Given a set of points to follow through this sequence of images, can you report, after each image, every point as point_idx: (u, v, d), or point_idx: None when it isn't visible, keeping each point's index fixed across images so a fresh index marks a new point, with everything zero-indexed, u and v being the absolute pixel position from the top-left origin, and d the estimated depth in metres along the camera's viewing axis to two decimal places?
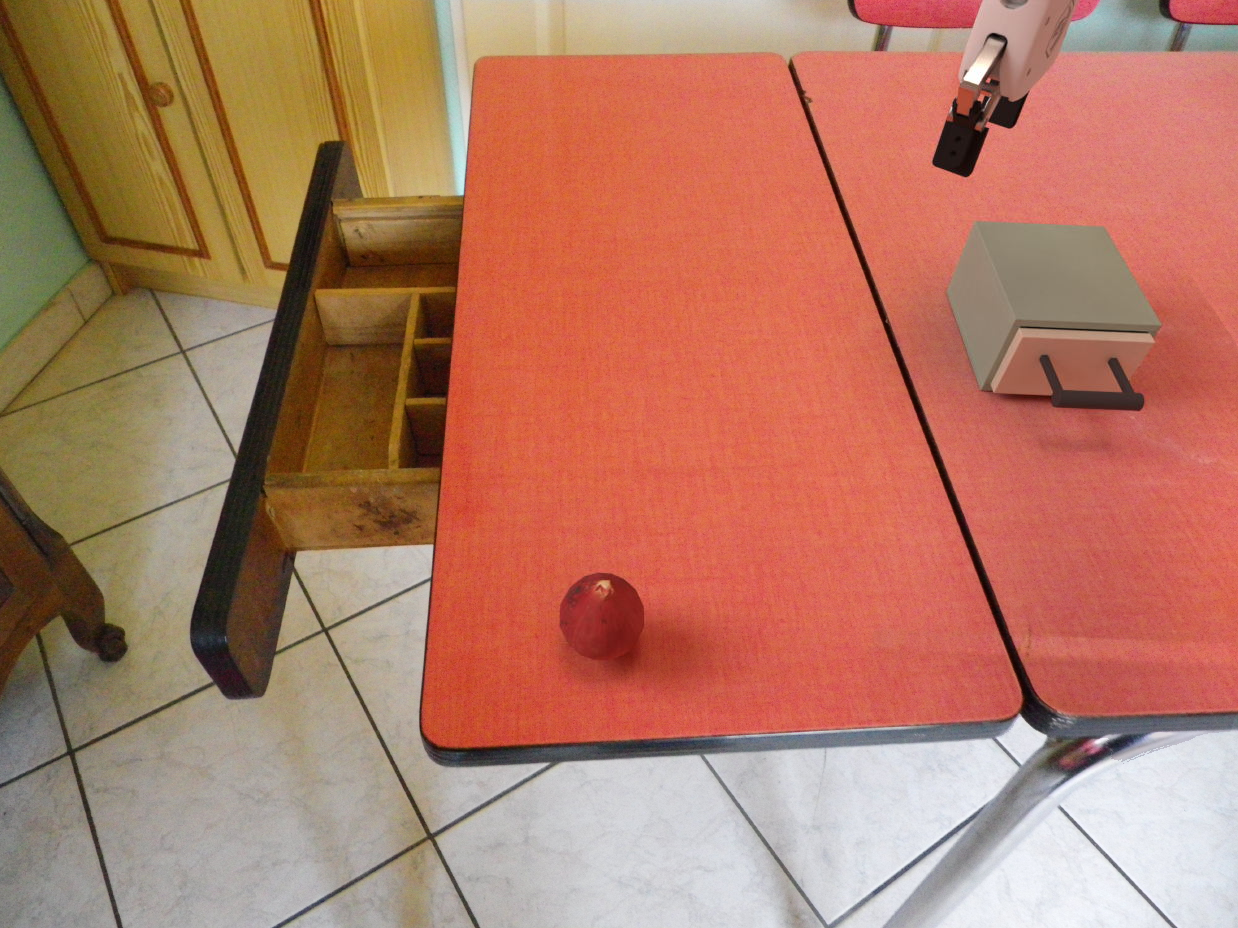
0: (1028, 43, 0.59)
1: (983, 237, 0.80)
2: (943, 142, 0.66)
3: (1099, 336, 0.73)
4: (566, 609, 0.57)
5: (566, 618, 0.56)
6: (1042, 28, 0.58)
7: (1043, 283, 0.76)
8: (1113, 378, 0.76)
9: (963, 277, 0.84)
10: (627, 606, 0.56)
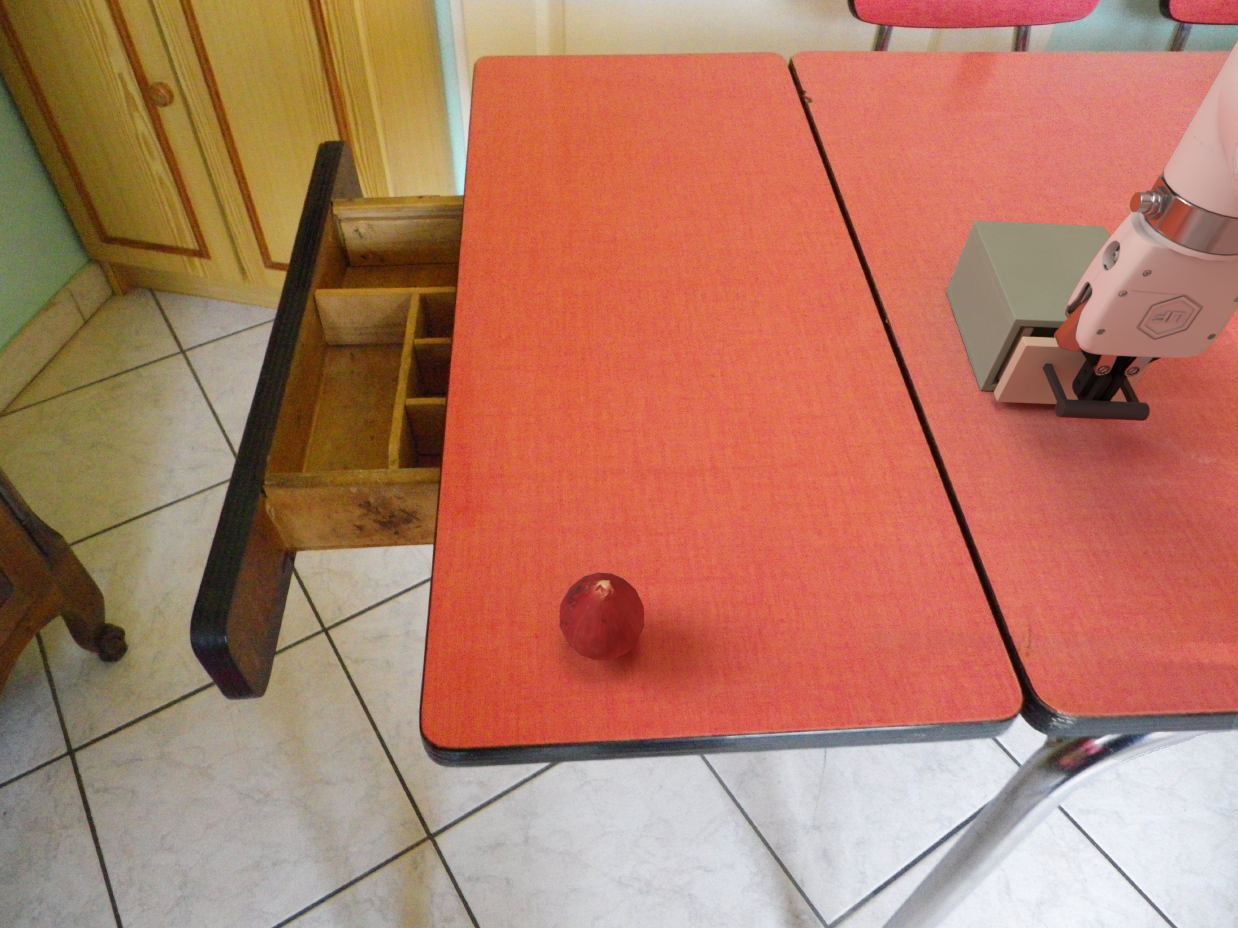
0: (1101, 304, 0.62)
1: (983, 237, 0.80)
2: None
3: None
4: (566, 609, 0.57)
5: (566, 618, 0.56)
6: (1115, 297, 0.61)
7: (1043, 283, 0.76)
8: None
9: (963, 277, 0.84)
10: (627, 606, 0.56)
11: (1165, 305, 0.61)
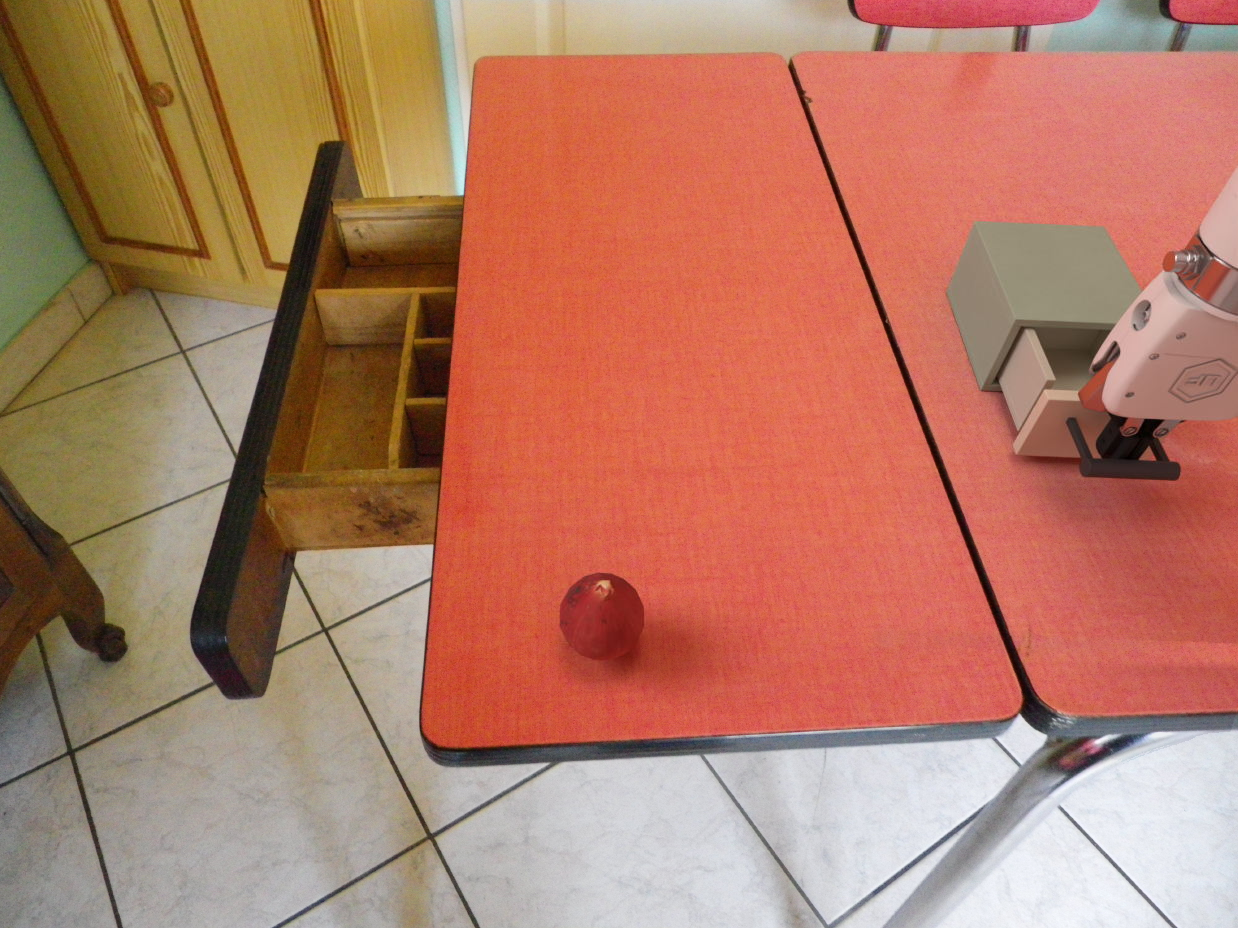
0: (1130, 366, 0.58)
1: (983, 237, 0.80)
2: None
3: None
4: (566, 609, 0.57)
5: (566, 618, 0.56)
6: (1146, 360, 0.57)
7: (1043, 283, 0.76)
8: None
9: (963, 277, 0.84)
10: (627, 606, 0.56)
11: (1199, 368, 0.57)
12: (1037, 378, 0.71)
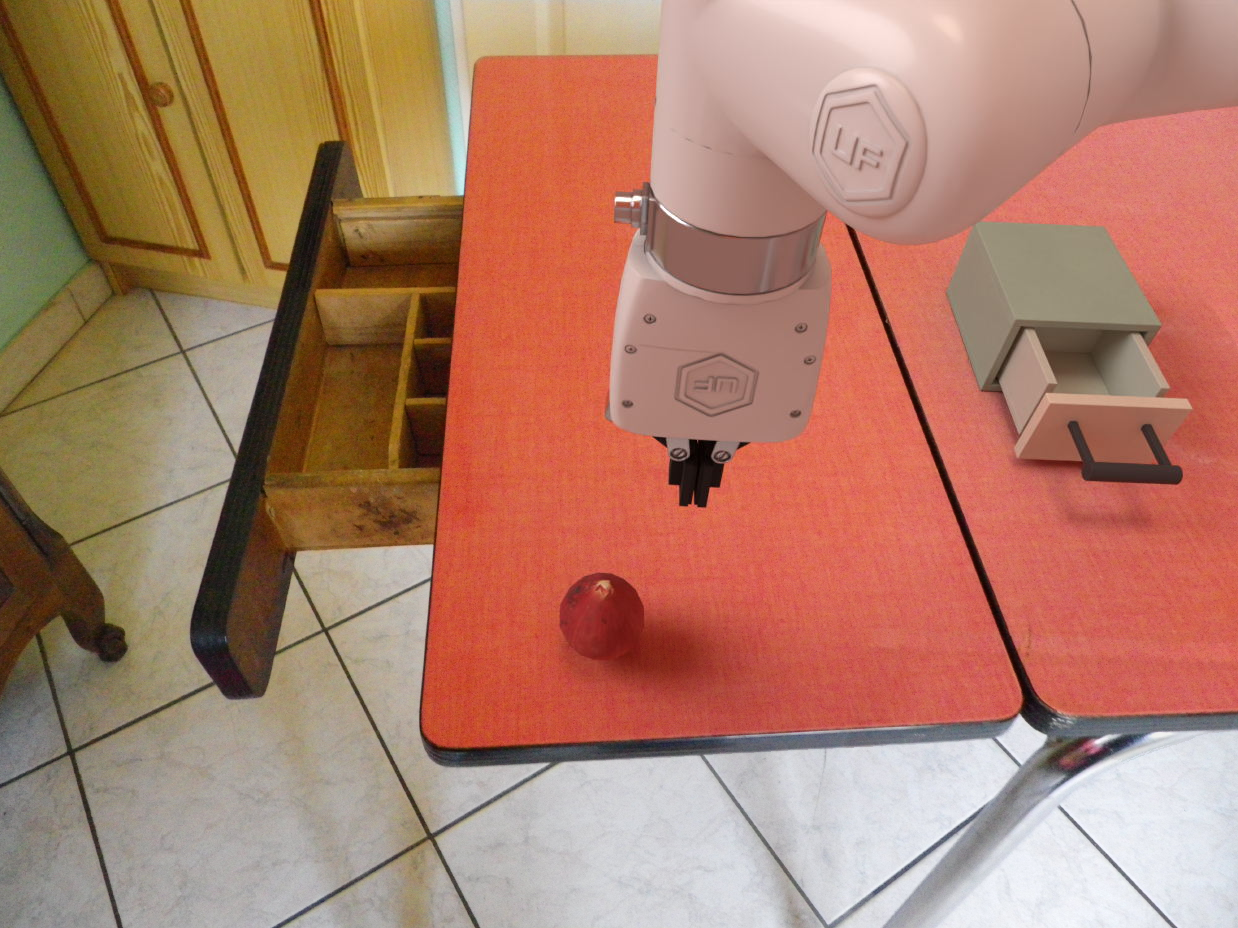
0: (614, 363, 0.41)
1: (983, 237, 0.80)
2: None
3: (1132, 402, 0.68)
4: (566, 609, 0.57)
5: (566, 618, 0.56)
6: (622, 355, 0.40)
7: (1043, 283, 0.76)
8: (1146, 444, 0.71)
9: (963, 277, 0.84)
10: (627, 606, 0.56)
11: (701, 368, 0.40)
12: (1039, 381, 0.71)
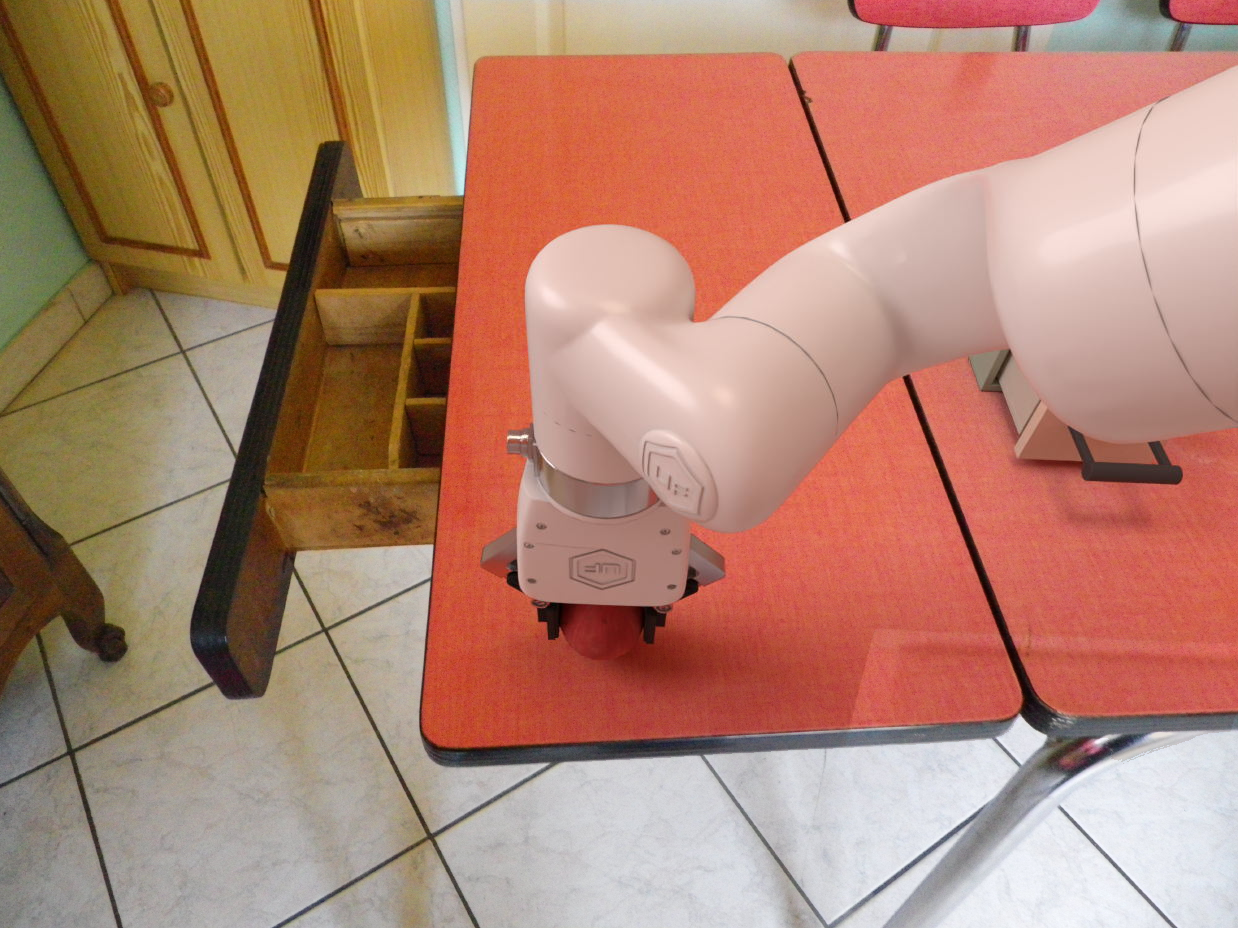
0: (518, 551, 0.49)
1: None
2: None
3: None
4: (566, 609, 0.57)
5: (566, 618, 0.56)
6: (523, 548, 0.48)
7: None
8: (1146, 444, 0.71)
9: None
10: (627, 606, 0.56)
11: (588, 557, 0.48)
12: None
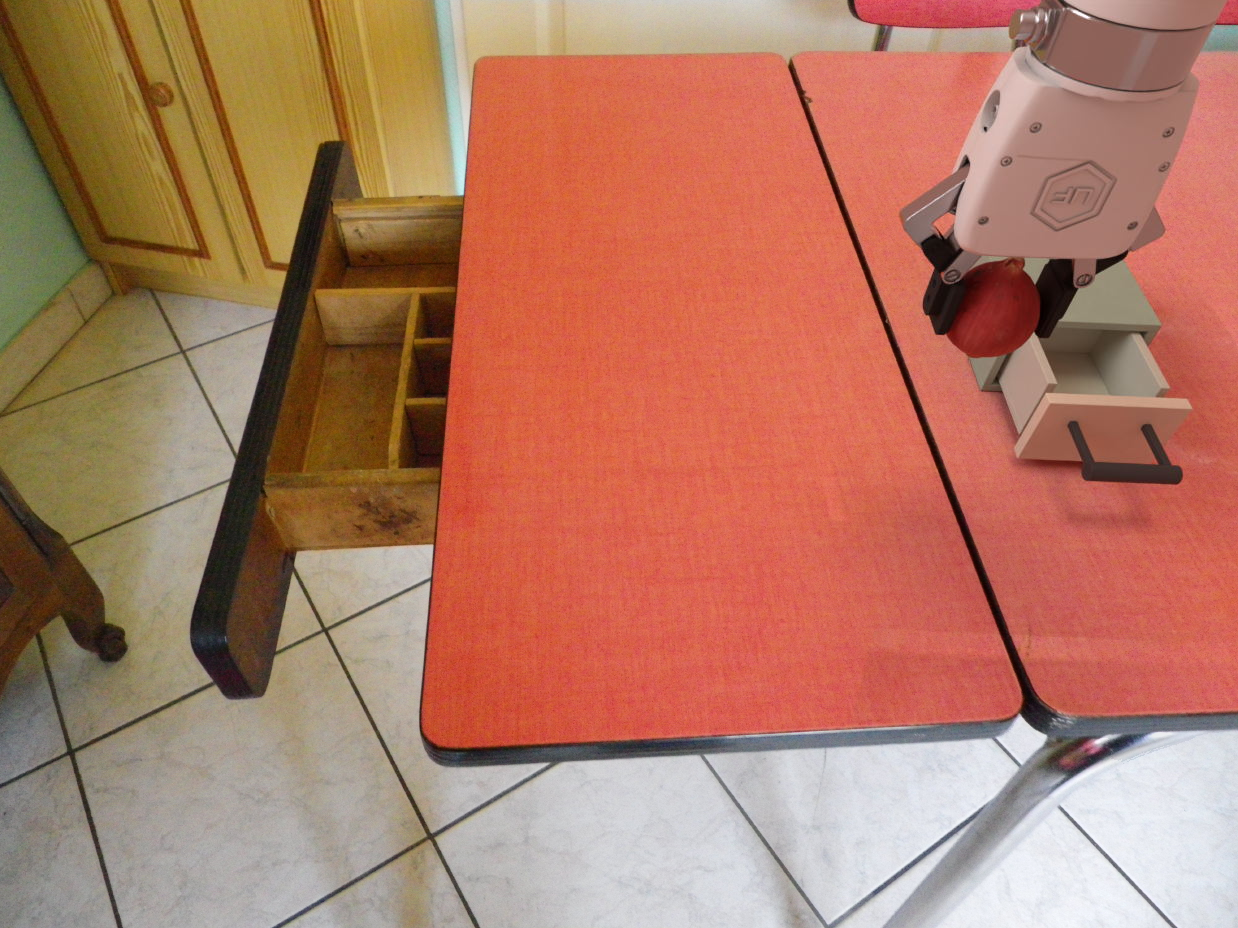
0: (980, 180, 0.45)
1: None
2: None
3: (1132, 402, 0.68)
4: (964, 295, 0.53)
5: (964, 304, 0.53)
6: (996, 168, 0.44)
7: None
8: (1146, 444, 0.71)
9: None
10: (1034, 287, 0.53)
11: (1065, 178, 0.45)
12: (1039, 381, 0.71)
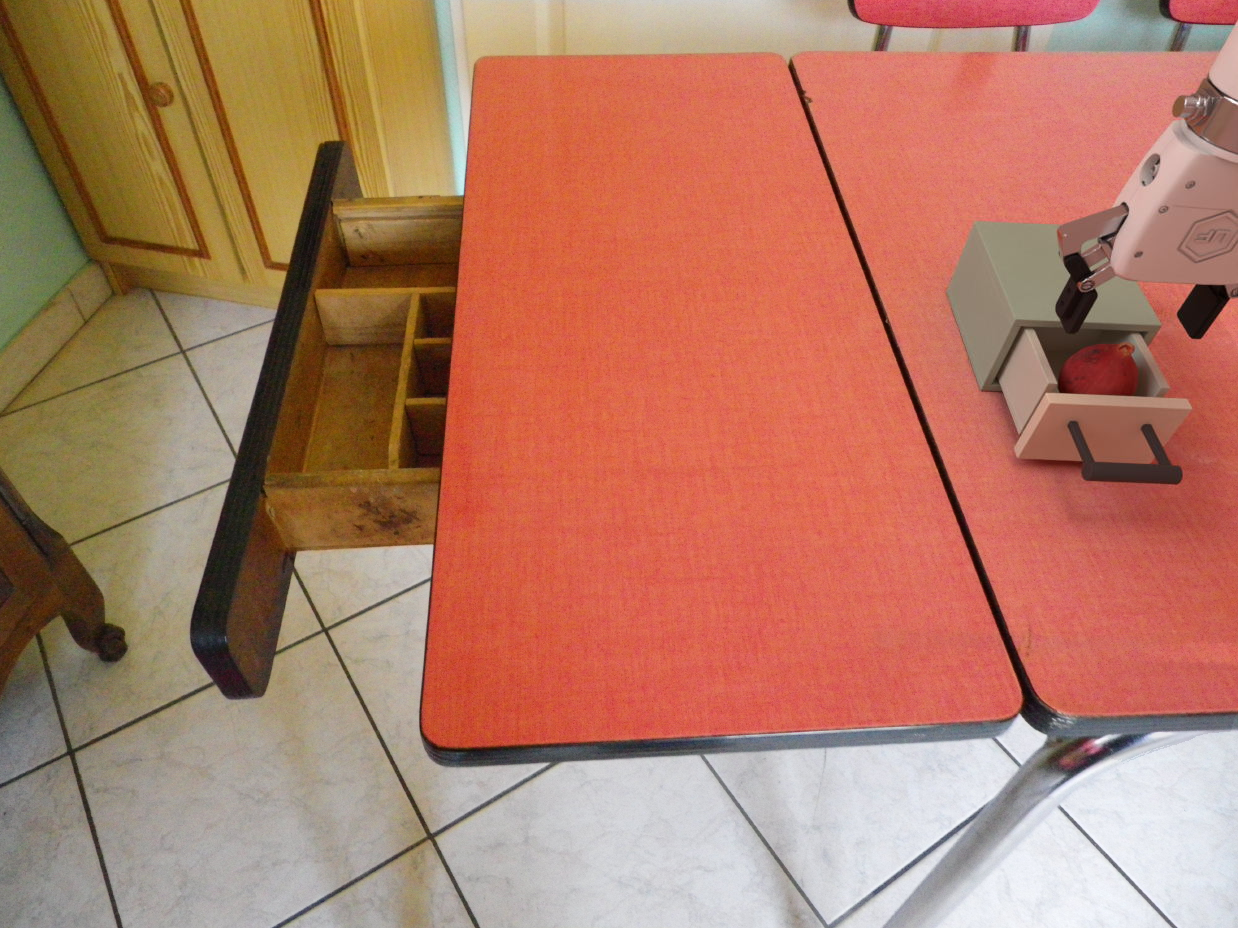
0: (1139, 223, 0.58)
1: (983, 237, 0.80)
2: None
3: (1132, 402, 0.68)
4: (1084, 367, 0.70)
5: (1084, 374, 0.70)
6: (1155, 214, 0.57)
7: (1043, 283, 0.76)
8: (1146, 444, 0.71)
9: (963, 277, 0.84)
10: (1136, 367, 0.70)
11: (1209, 222, 0.57)
12: (1039, 381, 0.71)
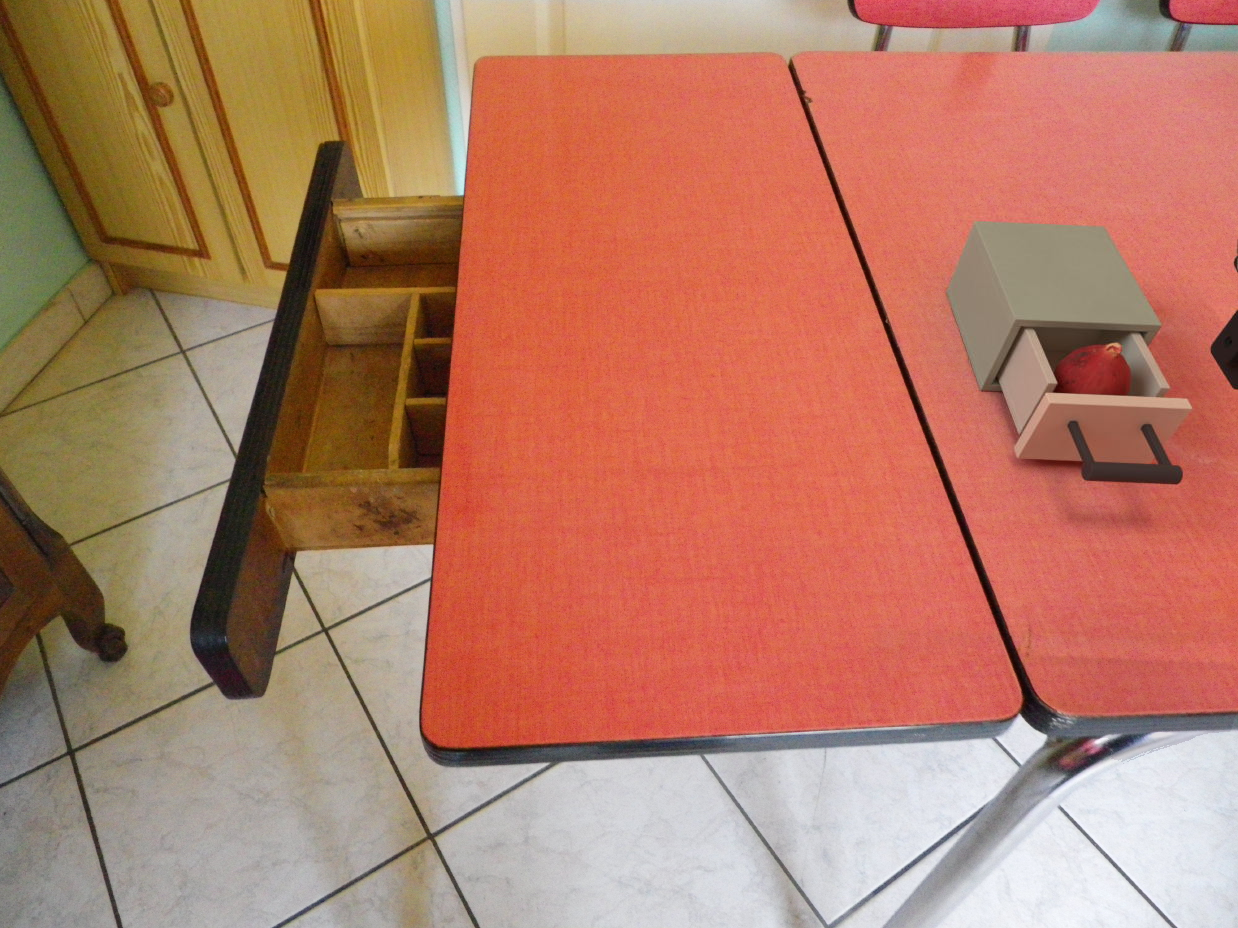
0: None
1: (983, 237, 0.80)
2: None
3: (1132, 402, 0.68)
4: (1073, 370, 0.70)
5: (1073, 377, 0.70)
6: None
7: (1043, 283, 0.76)
8: (1146, 444, 0.71)
9: (963, 277, 0.84)
10: (1127, 366, 0.70)
11: None
12: (1039, 381, 0.71)
